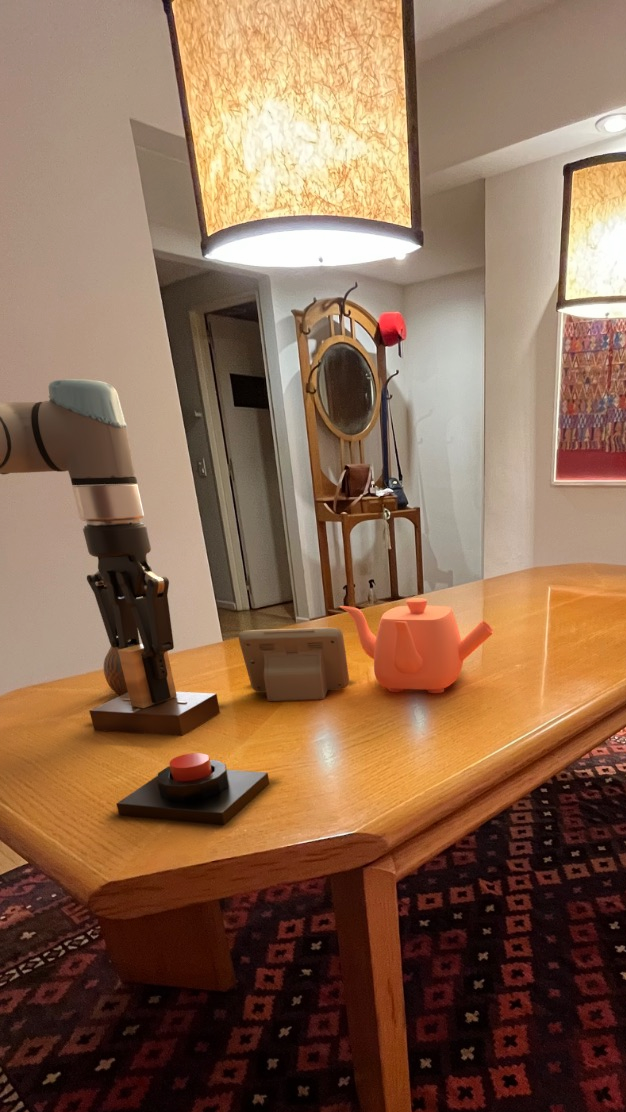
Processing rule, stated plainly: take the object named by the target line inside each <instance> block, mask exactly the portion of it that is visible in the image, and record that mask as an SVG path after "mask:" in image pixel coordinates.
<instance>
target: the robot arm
mask: <svg viewBox="0 0 626 1112" xmlns="http://www.w3.org/2000/svg"><path fill="white" fill-rule="evenodd" d="M48 398H49V400H44V401H38V402H35V401H34V402H32V401H31V402H28V401H27V402H25V401H23V402H21V401H19V402H17V401H10V402H9V401H0V475H8V474H22V473H23V474H25V473H26V474H27V473H46V472H57V473H58V472H60V473H61V472H68V476H69V478H70V481H71V482H70V483H71V485H72V486H71V487H72V491H73V495H74V500H75V505H76V508H77V512H78V517H79V519H80V520H81V521H83V522H85V523H86V525H83V528H82V531H83V535H84V536H83V537H84V541H85V545H86V548H87V551H88V554H89V556H92V557H95V558H97V572H95V573H92V574H87V576H86V581H87V583H88V585H89V586H90V588H91V590H92V592H93V594H94V597H95V601H96V604H97V607H98V609H99V613H100V616H101V620H102V622H103V626H104V629H105V631H106V635H107V639H108V642H109V644H110V647H111V646H112V647H113V648H115V647H118V648H119V649H124V648H128V647H131V646H135V645H139V644H143V647H144V650H145V653H143V654H141V656H142V660H143V665H144V669H145V673H146V678H147V682H148V687H149V691H150V695H151V700H152V703H158V702H160V701H163V700H166V699H169V698H171V695H170V691H169V686H168V681H167V675H168V673H167V670H166V669H167V668H166V664H165V659H164V653H165V652H169V651H173V650H174V648H175V644H174V636H173V629H172V621H171V614H170V612H171V611H170V606H169V597H168V593H169V586H170V581H169V579H168V577H167V576H161V577H160V576H158V575H157V574H155V573H154V572H153V570H152V567H151V565H150V563H149V561H148V558H147V555H148V554H149V553H150V552H151V550H152V547H151V542H150V536H149V532H148V527H147V525H146V524H145V523H144V522H141V519H143V518H144V517H145V514H144V509H143V505H142V499H141V495H140V491H139V486H138V479H137V477H136V470H135V466H134V461H133V454H132V450H131V443H130V439H129V434H128V425H127V423H126V420H125V416H124V413H123V409H122V406H121V401H120V398H119V394H118V391H117V389H116V388H114V386H113V385H112V384H110V383H108V382H105V381H101V380H94V379H81V378H80V379H77V378H76V379H75V378H74V379H73V378H72V379H70V378H69V379H61V380H59V379H56V380H52V381H50V382H49V384H48ZM140 641H141V642H140ZM152 645H153V646H152Z"/></svg>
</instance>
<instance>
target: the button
mask: <svg viewBox="0 0 626 1112" xmlns="http://www.w3.org/2000/svg"><path fill="white" fill-rule="evenodd" d="M210 760H211V758H210V756H209V755H208V754H206V753H201V752H191V753H185V754H181V755H178V756H176V757H173V758H172V759H170V760H169V766H170V769H171V774H172V778H173V780H174V781H191V780H198V779H201V778H204V777H207V776H209V775H210V774H212V768H211V763H210Z"/></svg>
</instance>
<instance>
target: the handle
mask: <svg viewBox="0 0 626 1112" xmlns="http://www.w3.org/2000/svg"><path fill="white" fill-rule="evenodd" d="M152 646H153V645H152ZM118 653H119V657H120V661H121V665H122V669H123V673H124V677H125V682H126V686H127V690H128V694H129V698H130V702H131V706H134V707H139V708H146V707H149V706H151V705H154V704H157V703H152V700H151V695H150V691H149V687H148V682H147V678H146V673H145V669H144V665H143V660H142V656H141V654H143V653H145V650H144V647H143V644H142V643H140V644H139V645H135V646H131V647H128V648H124V649H120V650H118ZM169 657H170V656H169V651H167V652H165V653H164V659H165V664H166V668H167V669H166V670H167V673H168V675H167V681H168V686H169V691H170V695H171V698H174V697H177V694H176V692H177V690H176V685H175V680H174V676H173V672H172V671H173V670H172V666H171V661H170V658H169ZM171 698H169V699H171ZM166 700H168V699H166ZM166 700H163V701H166ZM163 701H160V702H163ZM160 702H158V703H160Z"/></svg>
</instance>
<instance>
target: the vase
mask: <svg viewBox="0 0 626 1112" xmlns="http://www.w3.org/2000/svg"><path fill="white" fill-rule="evenodd" d="M118 650H120V649H119V648H118V647H115V648H113V647H112V646H111V645H110V647H109V650H108V651H107V653H106V655H105V658H104V659H103V660H104V661H103V675H104V678H105V680H106V683H107V685H108V686H109V688H110V689H111V690H112V691H113V692H114V693H115V694H117V695H119V696H121V695H123V694H126V693H128V690H127V686H126V682H125V677H124V673H123V669H122V665H121V661H120V657H119V653H118Z"/></svg>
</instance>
